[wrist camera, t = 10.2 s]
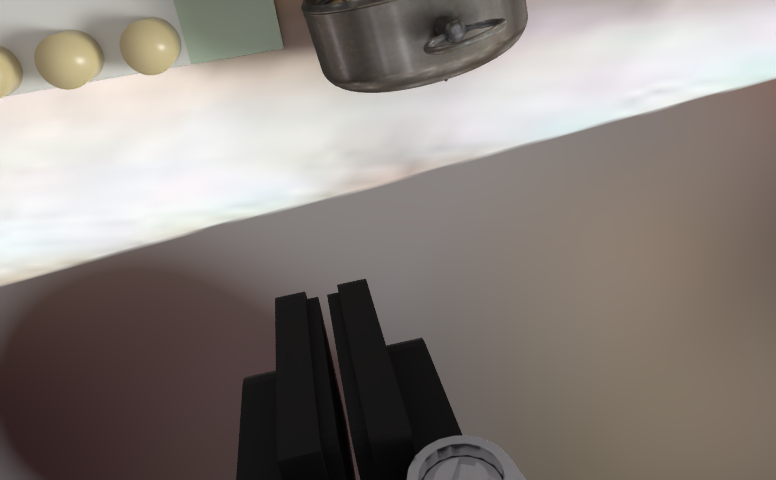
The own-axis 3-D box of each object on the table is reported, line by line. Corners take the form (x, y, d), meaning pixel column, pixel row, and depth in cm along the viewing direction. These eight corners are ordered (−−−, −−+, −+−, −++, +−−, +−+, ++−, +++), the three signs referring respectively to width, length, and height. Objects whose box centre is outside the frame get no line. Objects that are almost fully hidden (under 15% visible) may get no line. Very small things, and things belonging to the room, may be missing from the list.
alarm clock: (469, -64, 35) (606, -82, 21) (486, 28, 38) (620, 68, 23) (293, -9, 35) (308, 11, 21) (322, 81, 37) (354, 155, 23)
